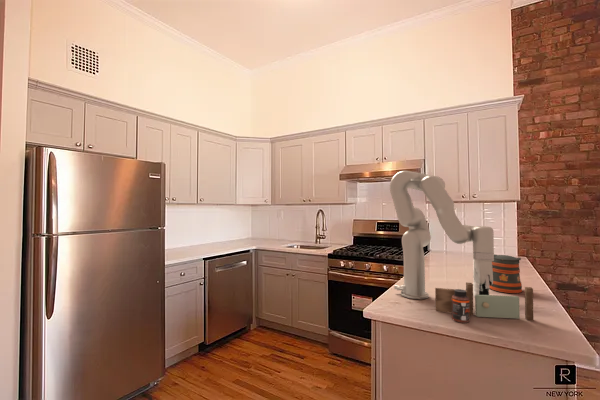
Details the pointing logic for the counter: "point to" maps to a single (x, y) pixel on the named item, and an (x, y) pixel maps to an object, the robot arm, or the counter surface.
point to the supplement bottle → (460, 306)
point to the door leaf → (497, 306)
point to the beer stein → (506, 274)
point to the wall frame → (445, 300)
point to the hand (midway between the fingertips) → (483, 300)
